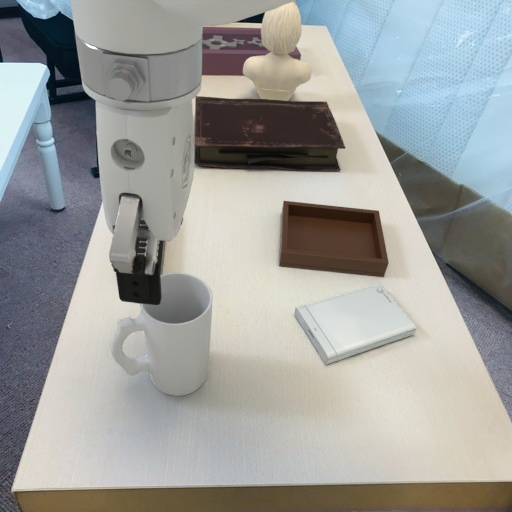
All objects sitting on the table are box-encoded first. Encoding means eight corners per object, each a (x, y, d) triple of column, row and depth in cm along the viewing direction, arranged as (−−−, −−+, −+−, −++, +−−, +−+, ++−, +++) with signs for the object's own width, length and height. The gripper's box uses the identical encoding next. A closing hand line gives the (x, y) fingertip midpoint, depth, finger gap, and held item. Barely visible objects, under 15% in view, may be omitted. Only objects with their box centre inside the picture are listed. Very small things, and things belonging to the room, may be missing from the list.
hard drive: (379, 281, 66) (295, 305, 62) (417, 327, 61) (329, 357, 57) (376, 290, 68) (293, 314, 63) (413, 336, 62) (326, 365, 58)
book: (284, 48, 128) (286, 28, 125) (298, 76, 116) (301, 54, 113) (182, 46, 124) (182, 25, 120) (186, 74, 112) (186, 52, 109)
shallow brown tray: (383, 277, 69) (388, 263, 68) (279, 266, 69) (281, 252, 68) (374, 224, 78) (379, 210, 76) (281, 214, 78) (283, 200, 76)
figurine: (304, 94, 110) (320, -7, 96) (306, 114, 103) (323, 9, 89) (242, 88, 109) (249, -14, 96) (239, 108, 102) (246, 2, 89)
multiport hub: (125, 287, 64) (123, 274, 63) (137, 215, 75) (136, 203, 73) (161, 287, 65) (160, 274, 63) (168, 216, 75) (167, 204, 74)
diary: (195, 117, 98) (195, 92, 95) (322, 121, 101) (326, 98, 98) (194, 171, 85) (194, 144, 81) (341, 174, 87) (346, 149, 84)
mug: (197, 339, 59) (197, 264, 51) (220, 385, 55) (224, 312, 47) (110, 367, 55) (95, 292, 47) (127, 419, 51) (114, 346, 43)
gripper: (176, 138, 26) (179, 344, 37) (217, 21, 38) (210, 202, 50) (27, 120, 25) (77, 333, 37) (118, 9, 38) (134, 194, 50)
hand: (154, 258), depth 44 cm, fingers open, 9 cm apart
